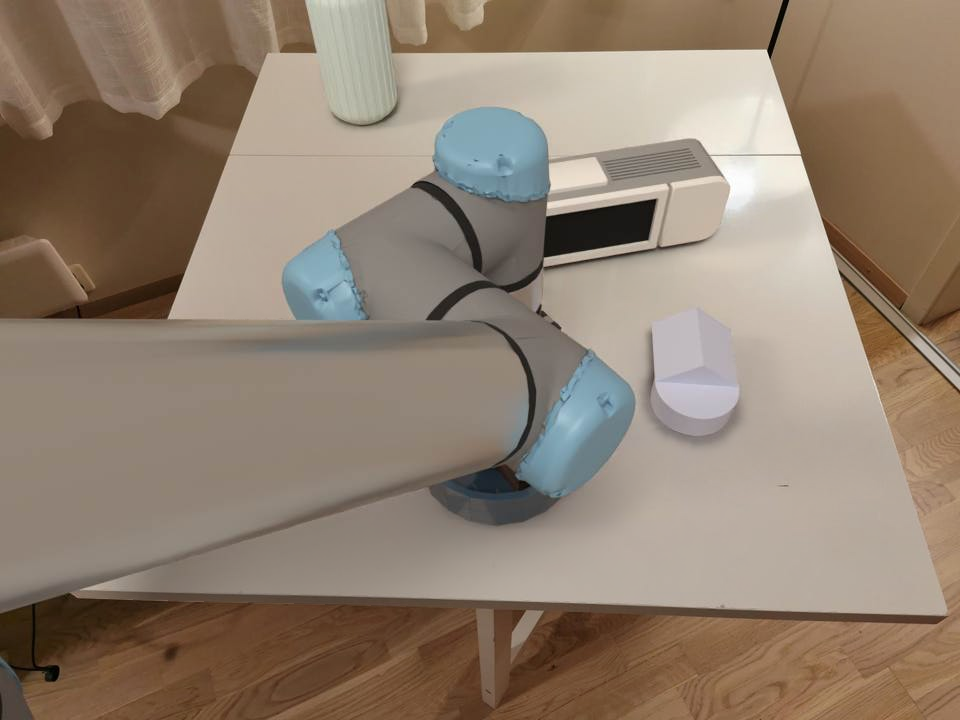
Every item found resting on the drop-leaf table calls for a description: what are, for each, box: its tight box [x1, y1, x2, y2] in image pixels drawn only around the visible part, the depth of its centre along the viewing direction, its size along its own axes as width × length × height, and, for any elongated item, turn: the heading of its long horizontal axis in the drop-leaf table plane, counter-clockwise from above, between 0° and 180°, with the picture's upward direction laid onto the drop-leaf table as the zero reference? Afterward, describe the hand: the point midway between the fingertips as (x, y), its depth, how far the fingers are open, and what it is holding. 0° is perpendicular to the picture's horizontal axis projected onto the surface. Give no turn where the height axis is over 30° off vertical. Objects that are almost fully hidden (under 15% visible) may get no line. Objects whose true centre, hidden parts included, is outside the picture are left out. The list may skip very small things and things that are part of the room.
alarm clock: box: [544, 137, 731, 268], centre depth 92 cm, size 27×9×12 cm, turn 102°
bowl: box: [427, 467, 562, 527], centre depth 74 cm, size 17×17×6 cm
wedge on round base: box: [649, 306, 740, 437], centre depth 78 cm, size 9×7×13 cm
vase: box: [304, 0, 398, 126], centre depth 109 cm, size 12×12×22 cm
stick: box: [495, 464, 531, 492], centre depth 74 cm, size 11×3×4 cm, turn 35°
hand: (497, 450), depth 75 cm, fingers closed on stick, 3 cm apart
